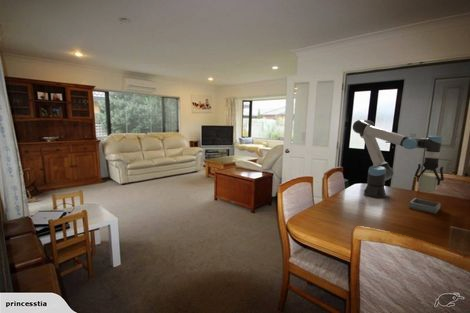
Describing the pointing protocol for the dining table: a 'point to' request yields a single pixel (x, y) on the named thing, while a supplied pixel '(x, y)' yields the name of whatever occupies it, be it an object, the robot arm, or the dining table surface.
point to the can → (427, 182)
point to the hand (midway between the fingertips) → (427, 187)
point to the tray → (424, 205)
